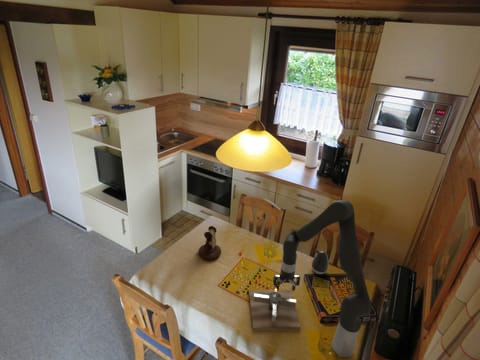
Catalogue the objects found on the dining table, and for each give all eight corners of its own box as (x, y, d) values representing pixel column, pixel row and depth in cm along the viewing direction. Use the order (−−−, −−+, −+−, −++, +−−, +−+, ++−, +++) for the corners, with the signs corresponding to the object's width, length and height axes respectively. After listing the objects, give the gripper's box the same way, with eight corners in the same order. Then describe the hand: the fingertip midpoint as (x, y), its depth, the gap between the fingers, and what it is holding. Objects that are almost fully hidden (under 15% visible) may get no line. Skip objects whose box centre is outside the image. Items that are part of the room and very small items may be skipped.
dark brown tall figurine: (216, 264, 193) (217, 238, 184) (194, 257, 197) (194, 232, 188) (224, 249, 206) (225, 225, 197) (204, 244, 209) (204, 220, 200)
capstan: (294, 328, 152) (297, 317, 149) (251, 321, 154) (252, 310, 151) (293, 294, 172) (295, 283, 168) (254, 288, 174) (255, 278, 170)
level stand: (300, 330, 154) (300, 327, 153) (252, 330, 152) (253, 327, 151) (290, 292, 176) (290, 290, 175) (248, 292, 174) (249, 290, 173)
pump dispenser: (314, 262, 200) (319, 244, 193) (329, 270, 194) (334, 251, 188) (307, 270, 193) (311, 252, 186) (322, 279, 187) (327, 260, 180)
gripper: (300, 262, 166) (296, 284, 173) (274, 262, 166) (271, 284, 173) (303, 272, 159) (299, 295, 166) (275, 272, 159) (273, 294, 166)
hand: (285, 289), depth 170 cm, fingers open, 8 cm apart
